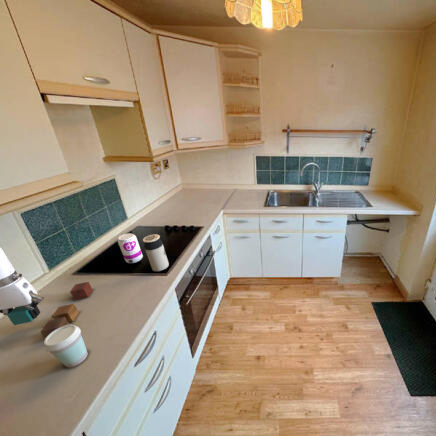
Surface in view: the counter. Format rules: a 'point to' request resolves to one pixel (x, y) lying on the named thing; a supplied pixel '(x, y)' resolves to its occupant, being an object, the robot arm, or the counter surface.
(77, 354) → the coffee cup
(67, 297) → the counter surface
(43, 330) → the walnut block
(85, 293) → the dark cherry block
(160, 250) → the travel mug
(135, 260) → the supplement can
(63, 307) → the oak block
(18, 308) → the teal block
